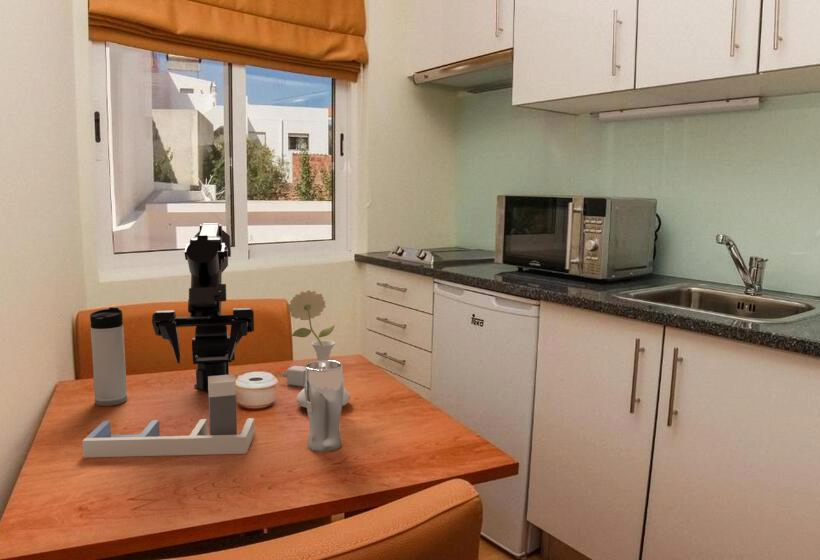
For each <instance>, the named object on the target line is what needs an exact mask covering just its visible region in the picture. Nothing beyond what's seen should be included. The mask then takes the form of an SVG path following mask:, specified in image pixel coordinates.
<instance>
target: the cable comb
mask: <svg viewBox="0 0 820 560" xmlns="http://www.w3.org/2000/svg"><path fill="white" fill-rule="evenodd" d="M255 433H256V432H255V418H254V417H252V418H251V417H249V418H246V421H245V423H244V425H243V427H242V430H241V433H240V434H237V435H210V434H208V419H207V418H202V419H199V420H198V422H197V423H196V425H195V427H194V428H193V430H192V431H191V433H190V434H189V435H173V436H172V435H171V436H170V435H166V436H164V435H163V436H160V420H159V419H152V420H151V421H150V422H149V423H148V424H147V425H146V427H144V429H143V430H142V431H141V433H140V434H139V433H138V434H137V433H136V434H112V428H111V420H103V421H102V422H101V423H99V424H98V426H96V427H95V428H94V429H93V430H92V431H91V432H90V433H89V434H88V435H87V436H86V437H85V438H83V440H82V452H83V453H82V455H83V458H85V459H86V458H121V457H122V458H123V457H125V458H126V457H159V456H161V457H162V456H166V457H167V456H168V457H169V456H200V455H201V456H202V455H236V454H237V455H238V454H239V455H241V454H242V455H244V454H247V453H248V450H249V448H250V445H251V443H252V440H253V438H254V436H255Z"/></svg>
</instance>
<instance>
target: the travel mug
mask: <svg viewBox="0 0 820 560" xmlns="http://www.w3.org/2000/svg"><path fill="white" fill-rule="evenodd" d="M123 317H124V316H123V310H122V309H120V308H119V307H109V308H105V309H101V310H100V309H99V310H96V311H93V312H91V313H90V315H89V320H90V339H91V340H90V341H91V343H90V344H91V354H92V356H91V358H92V359H91V360H92V372H93V373H92V375H93V390H94V391H93V392H94V403H95V404H96V406H100V407H112V406H117V405H122V404H123V403H125V402H126V401H127V400H128V391H127V390H128V389H127V388H128V386H127V373H126V354H125V353H126V350H125V334H124V333H125V332H124V321H123V320H124V319H123Z"/></svg>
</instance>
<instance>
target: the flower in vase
mask: <svg viewBox="0 0 820 560" xmlns="http://www.w3.org/2000/svg"><path fill="white" fill-rule="evenodd" d="M289 302H290V303H289V304H288V305H287V309H288V312H289V313H290V316H291V317H292V318H294V319H300V321H308V322H309V327H310V329H309V328H306V327H300V328H298V329H296V330H295V331H294V332H292V334H291V336H292V337H298V338H307V337H308V336H309V335H310V334H313V335H314V336H315V338H316V339H317V340H314V341H312V342H311V343H310V344H311V346H312V347H313V349H314V351H315V353H316V358H317V361H319V360H330V355H331V351H332V349H333V347H334V346H335V344H336V342H335V341H334V340H328V339H323V340H322V339H320V338H325V337H327V336H329V335H330V334H332V332H333V330H334V329H335V324H334V325H332V326H330V327H326V328H325V329H322V330H321V331H320V332H319V333H318V335H317V334H316V333H315V330H313V326H312V321H311V319H315V317H318V316H319V317H320V316H321V313H323V312H324V309H326V308H327V307H326V301H325V300H324V297H323V294H322V293H317V292H316V291H315V290H313V291H311V290H307V291H300V293H299V294H295V295H294V296H293V297H292V299H291V300H290V301H289ZM350 401H351V395H350V393H349V391H348V390H346V389H345V388H344V395H343V403H342V407H344V406H345V405H347V404H348V403H349V402H350ZM296 402H297V403H298V405H299V406H301V407H303V408H305V409H307V407H306V401H305V389H304V388H302V389H301V391H300V392H299V393H298V395H297V397H296Z"/></svg>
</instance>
